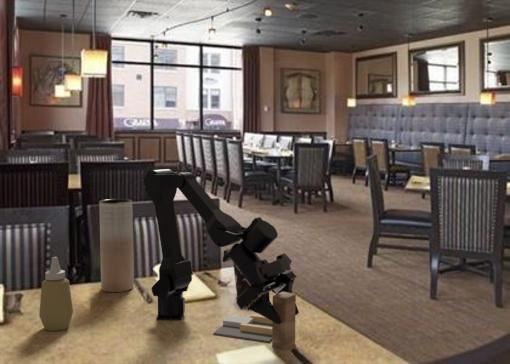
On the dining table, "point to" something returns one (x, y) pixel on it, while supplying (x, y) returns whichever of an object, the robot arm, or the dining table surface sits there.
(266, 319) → the underlay
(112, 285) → the vase
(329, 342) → the dining table surface
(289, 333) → the wooden block
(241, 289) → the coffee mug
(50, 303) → the squeeze bottle
